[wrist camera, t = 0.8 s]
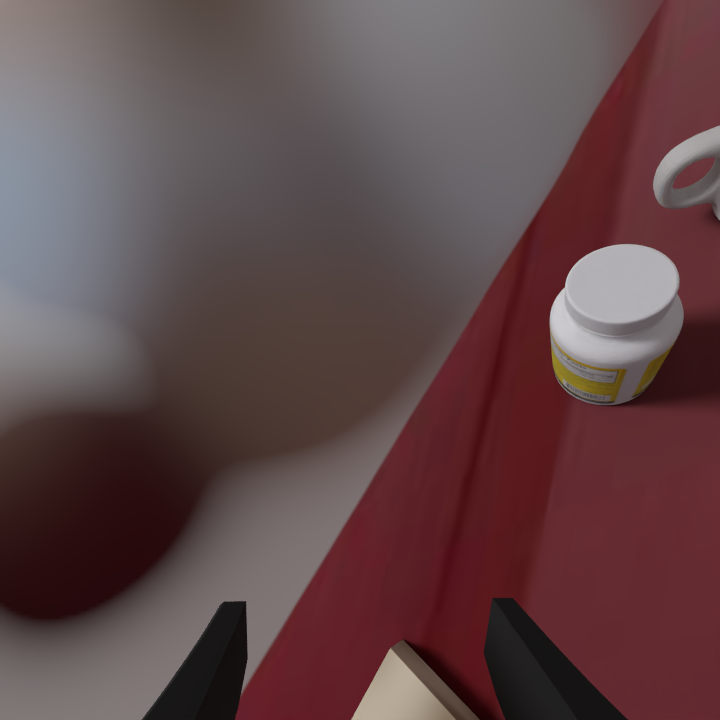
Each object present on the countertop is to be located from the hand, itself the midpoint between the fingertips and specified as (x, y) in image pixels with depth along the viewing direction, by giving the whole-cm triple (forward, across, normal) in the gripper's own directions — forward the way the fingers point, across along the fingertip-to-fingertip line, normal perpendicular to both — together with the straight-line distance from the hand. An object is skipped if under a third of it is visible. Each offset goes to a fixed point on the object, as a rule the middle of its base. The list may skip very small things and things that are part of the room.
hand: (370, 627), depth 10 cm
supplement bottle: (+13, -16, -5) cm, 21 cm away
